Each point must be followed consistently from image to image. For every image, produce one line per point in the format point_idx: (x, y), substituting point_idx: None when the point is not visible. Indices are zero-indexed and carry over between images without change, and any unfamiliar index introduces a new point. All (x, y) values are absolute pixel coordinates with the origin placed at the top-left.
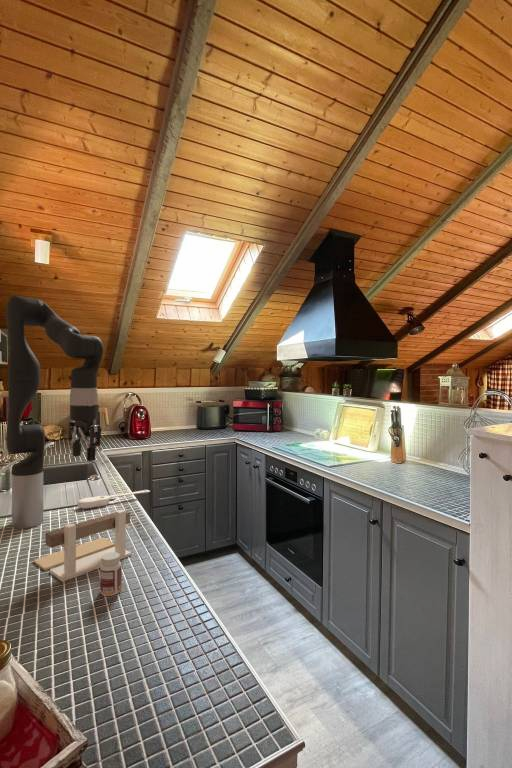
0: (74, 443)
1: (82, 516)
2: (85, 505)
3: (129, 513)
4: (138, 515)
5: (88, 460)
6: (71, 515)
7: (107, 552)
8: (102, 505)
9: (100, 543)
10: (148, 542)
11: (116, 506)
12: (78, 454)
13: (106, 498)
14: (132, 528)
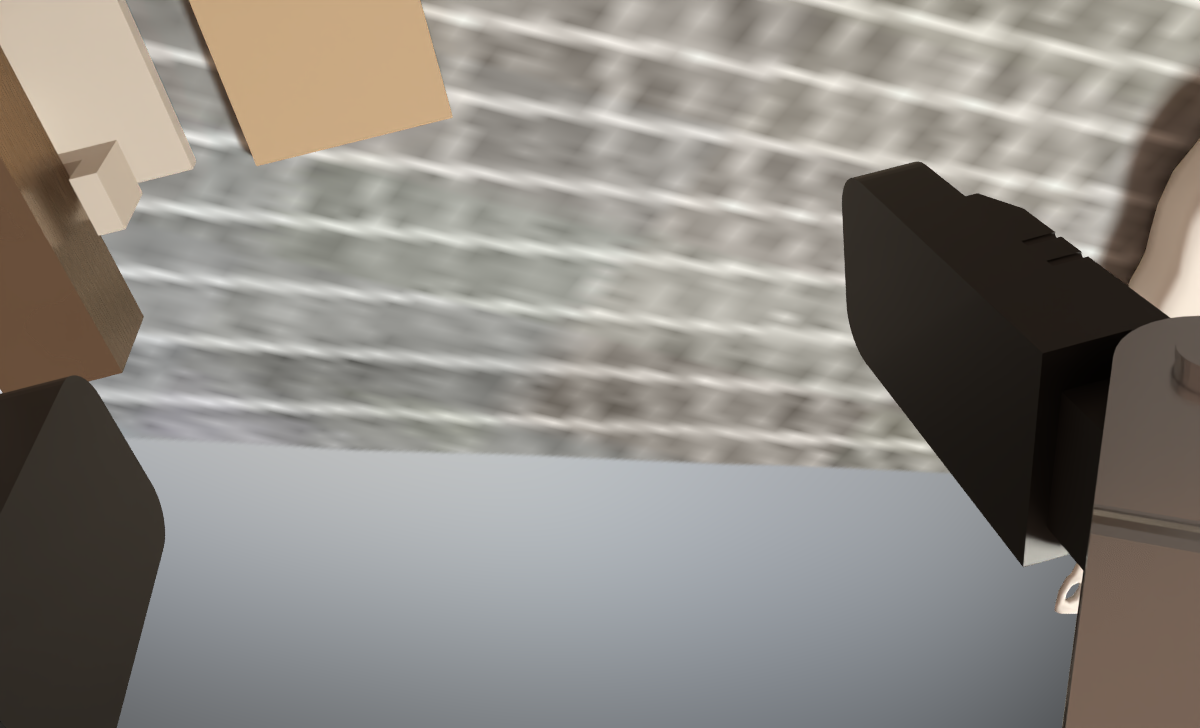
0: (1102, 401)
1: (1055, 97)
2: (1196, 168)
3: (5, 391)
4: (758, 445)
5: (3, 400)
6: (1151, 22)
7: (72, 58)
8: (1130, 286)
9: (324, 62)
10: (200, 374)
11: None
12: (865, 306)
13: None
14: (538, 351)
